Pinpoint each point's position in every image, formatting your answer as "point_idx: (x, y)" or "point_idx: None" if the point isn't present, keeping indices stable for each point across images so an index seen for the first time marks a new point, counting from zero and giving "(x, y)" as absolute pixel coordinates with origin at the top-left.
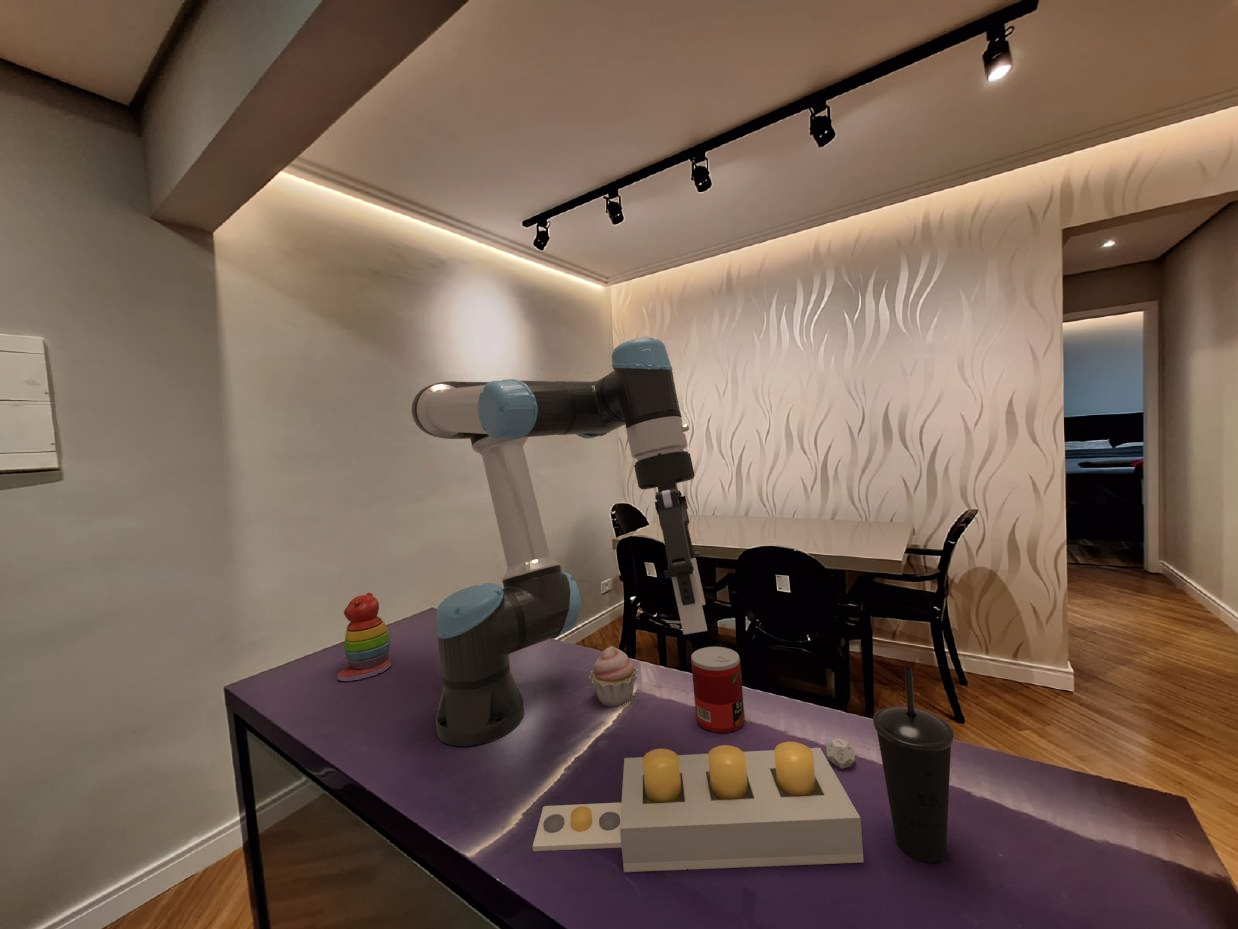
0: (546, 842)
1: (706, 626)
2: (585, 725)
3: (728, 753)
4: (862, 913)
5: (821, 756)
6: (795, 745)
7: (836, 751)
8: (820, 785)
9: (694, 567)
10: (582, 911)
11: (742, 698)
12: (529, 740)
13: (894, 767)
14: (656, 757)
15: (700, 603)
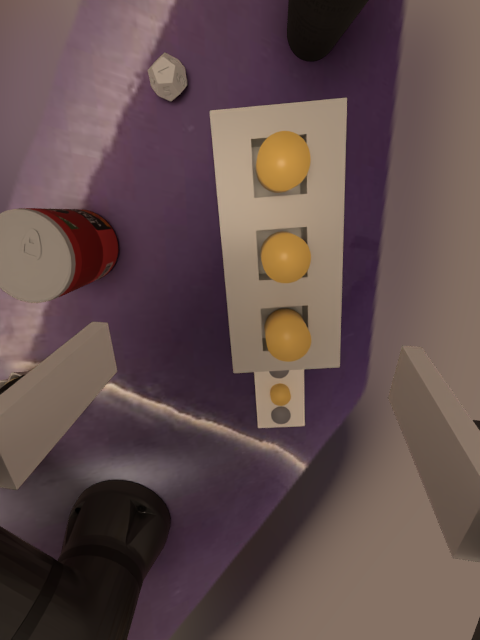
0: (300, 416)
1: (408, 350)
2: (119, 412)
3: (279, 256)
4: (386, 138)
5: (230, 114)
6: (265, 154)
7: (177, 83)
8: None
9: (25, 408)
10: (361, 375)
11: (73, 210)
12: (153, 462)
13: (364, 1)
14: (283, 346)
15: (454, 398)
